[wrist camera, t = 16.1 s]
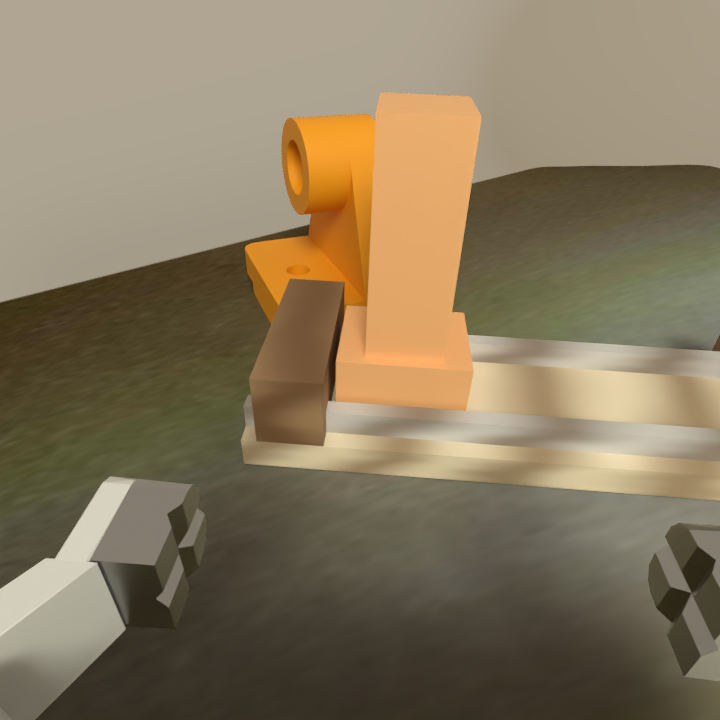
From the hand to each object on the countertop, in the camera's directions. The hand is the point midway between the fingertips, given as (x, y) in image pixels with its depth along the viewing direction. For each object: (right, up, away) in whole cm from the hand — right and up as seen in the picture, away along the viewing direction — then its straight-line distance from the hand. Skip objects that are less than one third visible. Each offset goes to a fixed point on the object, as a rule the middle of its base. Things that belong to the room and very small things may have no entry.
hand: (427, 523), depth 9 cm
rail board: (+7, 0, +18) cm, 19 cm away
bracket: (-4, +7, +28) cm, 29 cm away
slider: (+1, +2, +17) cm, 17 cm away
